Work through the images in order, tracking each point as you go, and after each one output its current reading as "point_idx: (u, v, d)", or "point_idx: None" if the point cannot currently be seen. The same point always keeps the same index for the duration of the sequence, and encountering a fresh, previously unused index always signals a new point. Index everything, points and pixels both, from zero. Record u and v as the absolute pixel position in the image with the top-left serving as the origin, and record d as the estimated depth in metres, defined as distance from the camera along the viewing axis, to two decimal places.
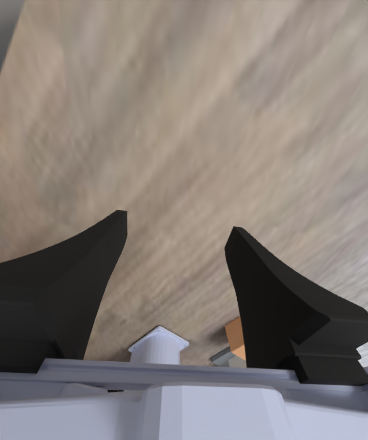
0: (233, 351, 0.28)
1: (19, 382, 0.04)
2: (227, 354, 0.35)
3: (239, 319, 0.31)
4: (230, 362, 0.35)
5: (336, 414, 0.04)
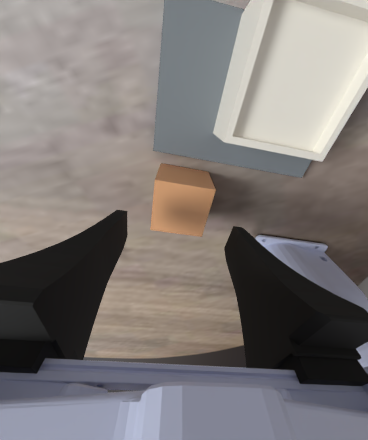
0: (198, 234, 0.15)
1: (19, 382, 0.04)
2: (264, 165, 0.15)
3: None
4: None
5: (335, 414, 0.04)
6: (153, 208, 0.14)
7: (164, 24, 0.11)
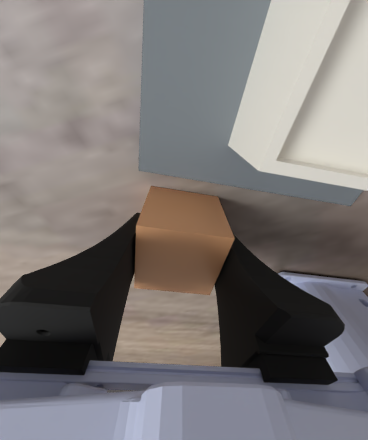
0: (204, 292, 0.10)
1: (19, 382, 0.04)
2: (299, 190, 0.11)
3: None
4: None
5: (335, 414, 0.04)
6: (136, 262, 0.09)
7: None
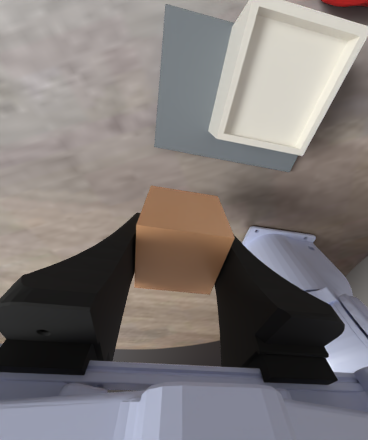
0: (204, 292, 0.10)
1: (19, 382, 0.04)
2: (255, 161, 0.17)
3: None
4: None
5: (336, 415, 0.04)
6: (136, 262, 0.09)
7: (164, 35, 0.12)
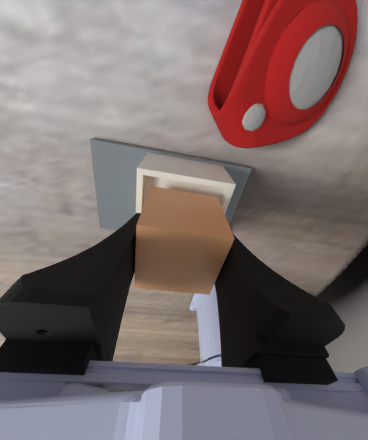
0: (204, 292, 0.10)
1: (19, 382, 0.04)
2: None
3: None
4: None
5: (336, 415, 0.04)
6: (136, 262, 0.09)
7: (93, 157, 0.15)
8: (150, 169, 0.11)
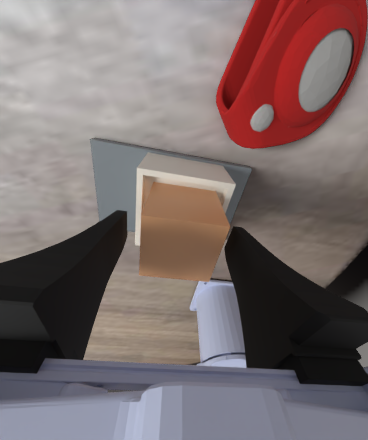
0: (204, 279, 0.11)
1: (19, 382, 0.04)
2: None
3: None
4: None
5: (336, 415, 0.04)
6: (141, 250, 0.10)
7: (93, 157, 0.15)
8: (150, 169, 0.11)
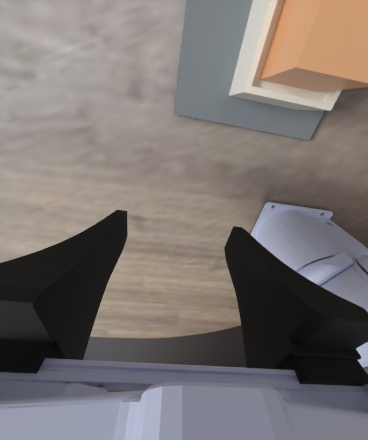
0: None
1: (19, 382, 0.04)
2: (275, 128, 0.17)
3: (279, 82, 0.12)
4: (295, 109, 0.15)
5: (335, 414, 0.04)
6: None
7: None
8: None
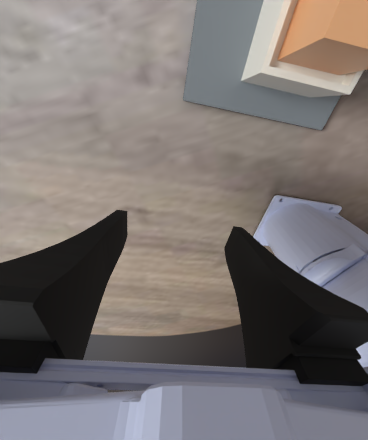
0: None
1: (19, 382, 0.04)
2: (287, 117, 0.16)
3: (297, 62, 0.11)
4: (309, 96, 0.15)
5: (335, 414, 0.04)
6: None
7: None
8: None
